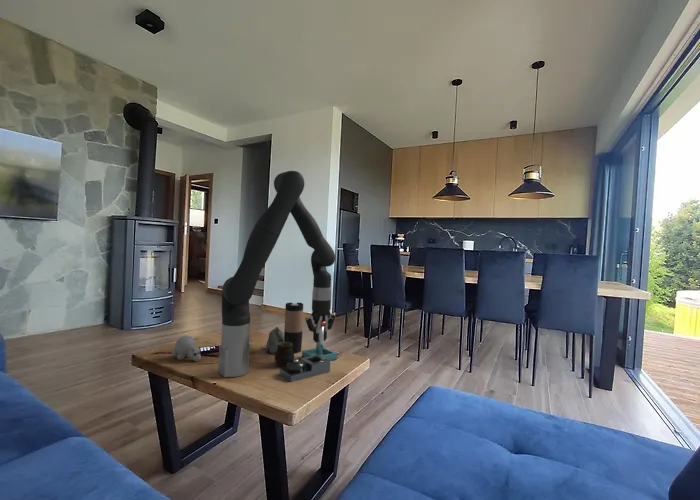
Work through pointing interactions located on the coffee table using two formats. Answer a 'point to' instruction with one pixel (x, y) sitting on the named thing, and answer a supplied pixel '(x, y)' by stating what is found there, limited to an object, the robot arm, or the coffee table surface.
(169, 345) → the coffee table surface
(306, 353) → the tray
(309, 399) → the coffee table surface
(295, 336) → the travel mug
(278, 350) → the mate gourd
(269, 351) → the mineral rock
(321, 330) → the lock pin
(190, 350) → the chubby cartoon animal
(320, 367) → the block
